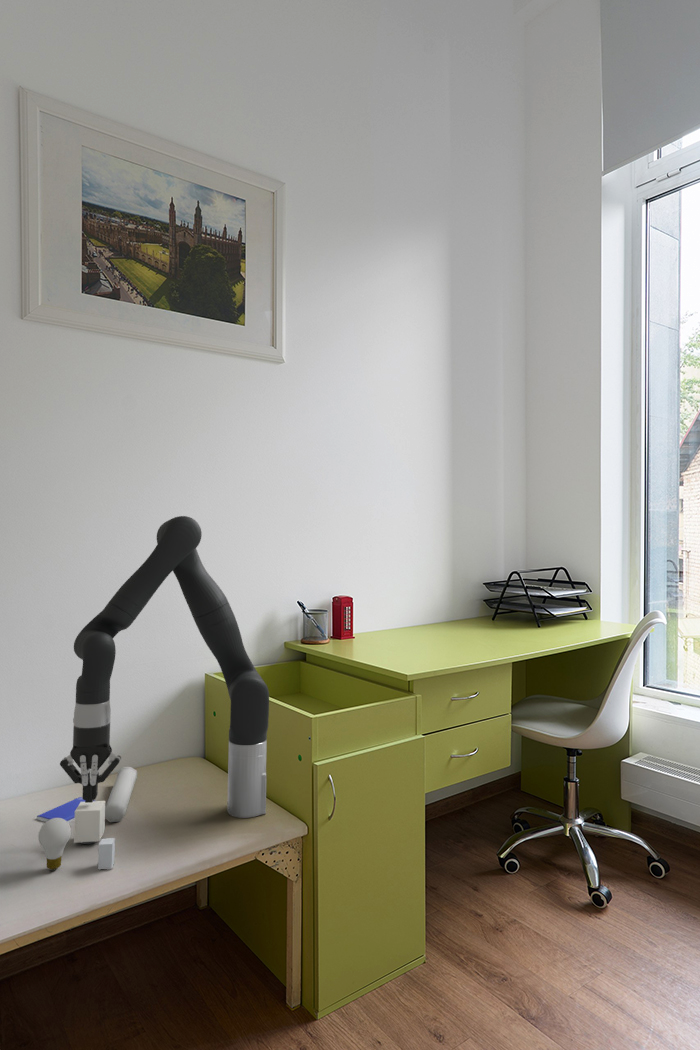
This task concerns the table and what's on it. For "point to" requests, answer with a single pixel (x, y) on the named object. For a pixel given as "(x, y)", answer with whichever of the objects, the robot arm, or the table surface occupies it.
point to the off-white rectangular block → (89, 821)
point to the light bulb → (54, 840)
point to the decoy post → (106, 853)
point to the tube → (120, 794)
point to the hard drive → (62, 811)
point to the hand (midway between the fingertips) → (89, 801)
